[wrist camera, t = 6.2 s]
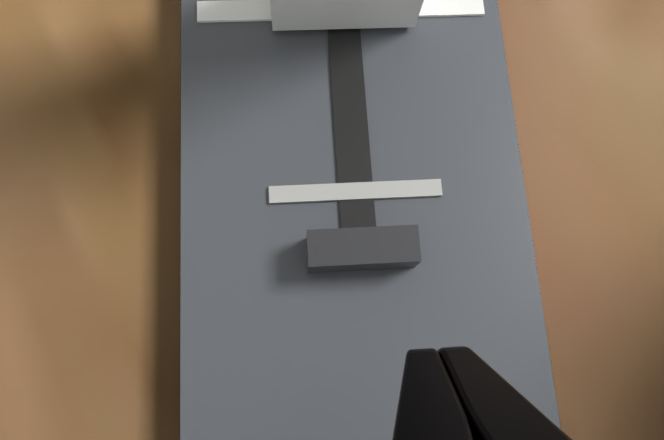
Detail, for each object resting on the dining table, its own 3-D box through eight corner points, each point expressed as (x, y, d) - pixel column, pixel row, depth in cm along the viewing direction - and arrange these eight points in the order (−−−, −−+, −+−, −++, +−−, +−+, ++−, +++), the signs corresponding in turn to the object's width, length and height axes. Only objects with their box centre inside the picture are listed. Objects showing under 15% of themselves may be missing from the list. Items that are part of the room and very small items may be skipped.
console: (551, 469, 16) (585, 483, 14) (187, 497, 16) (171, 514, 14) (473, -77, 21) (491, -123, 19) (187, -73, 20) (174, -120, 18)
